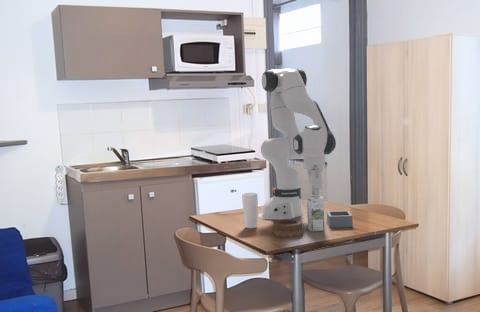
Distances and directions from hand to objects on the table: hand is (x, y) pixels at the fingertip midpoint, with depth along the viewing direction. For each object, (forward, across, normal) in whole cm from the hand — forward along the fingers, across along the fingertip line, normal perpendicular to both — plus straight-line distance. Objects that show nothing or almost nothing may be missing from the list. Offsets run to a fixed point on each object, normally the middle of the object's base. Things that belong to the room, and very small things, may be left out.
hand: (315, 196), depth 214 cm
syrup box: (+15, +1, 0) cm, 15 cm away
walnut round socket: (+14, -4, +12) cm, 19 cm away
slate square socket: (+14, +9, -11) cm, 20 cm away
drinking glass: (+14, +9, +28) cm, 33 cm away
